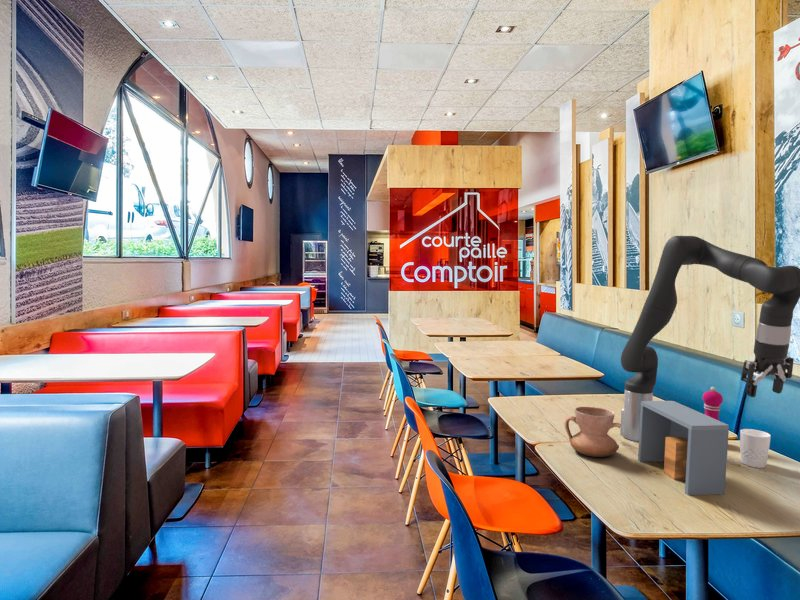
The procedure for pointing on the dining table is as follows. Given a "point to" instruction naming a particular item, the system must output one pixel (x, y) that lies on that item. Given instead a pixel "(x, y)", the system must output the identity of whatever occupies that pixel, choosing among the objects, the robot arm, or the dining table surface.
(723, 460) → the grey cubby
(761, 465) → the white cup
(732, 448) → the dining table surface
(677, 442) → the orange block
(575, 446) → the ceramic jug
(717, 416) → the pepper mill
